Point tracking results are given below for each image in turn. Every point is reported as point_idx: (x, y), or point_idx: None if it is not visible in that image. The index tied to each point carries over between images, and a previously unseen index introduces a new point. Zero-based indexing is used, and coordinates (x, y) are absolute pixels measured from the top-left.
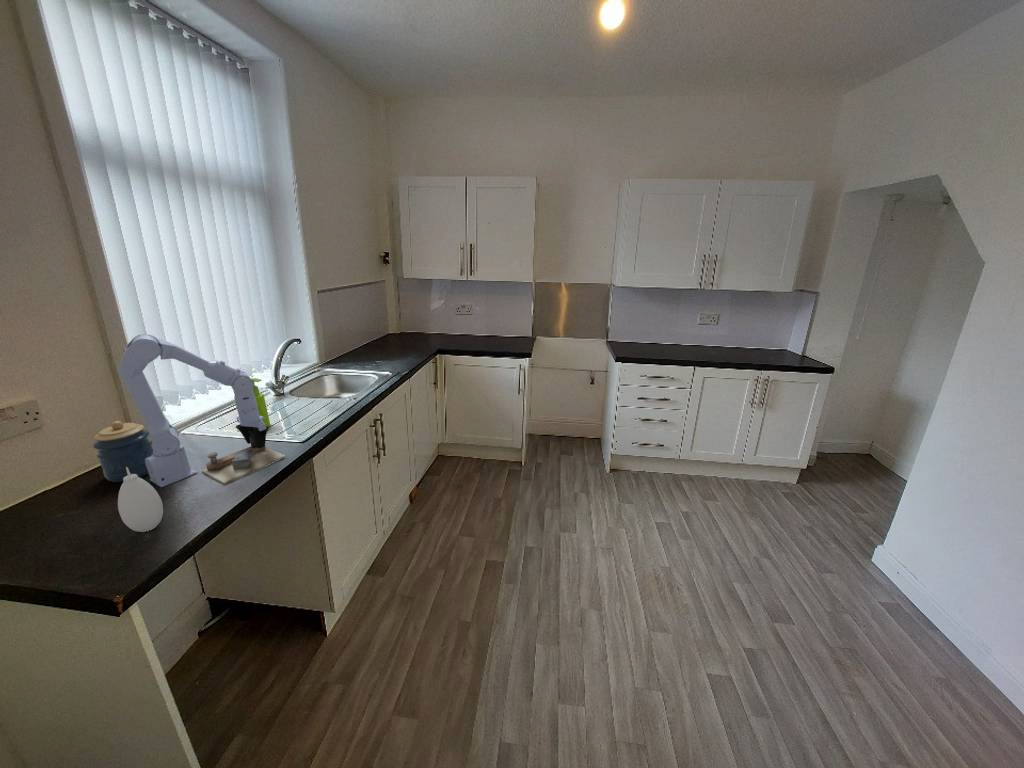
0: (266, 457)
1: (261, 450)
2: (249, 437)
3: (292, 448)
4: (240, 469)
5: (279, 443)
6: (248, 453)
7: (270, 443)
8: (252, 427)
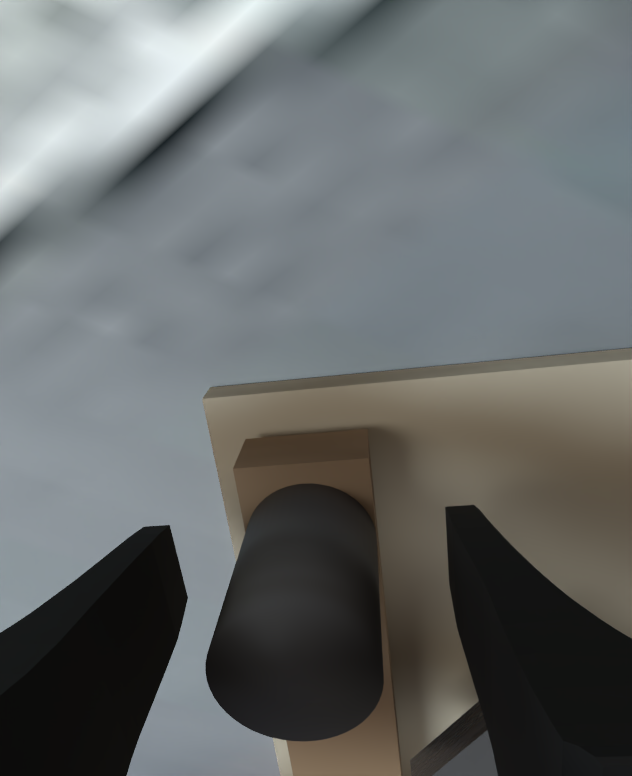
0: (605, 510)
1: None
2: (285, 736)
3: (600, 124)
4: None
5: (240, 178)
6: None
7: (137, 265)
8: (28, 719)
